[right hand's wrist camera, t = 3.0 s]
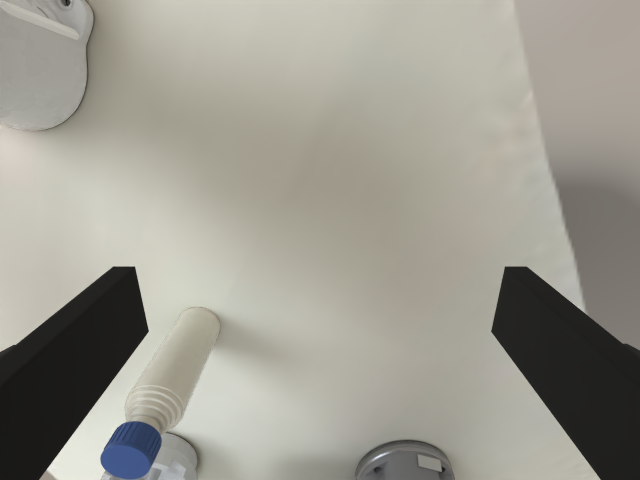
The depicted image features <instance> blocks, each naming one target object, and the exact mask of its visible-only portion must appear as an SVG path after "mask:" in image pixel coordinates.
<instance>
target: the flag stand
mask: <svg viewBox="0 0 640 480" xmlns="http://www.w3.org/2000/svg"><path fill="white" fill-rule="evenodd" d="M161 438H162V443H161V448H160V450H159V452H158V454H157V456H156V459H155V461H154V463H153V465H152V467H151V468H150V470H149V472H148V473H147V474H146V475H145V476H143V477H141V478H138V479H122V478H118V477H116V476H113V475H112V474H110V473H109V472H107V471H105V472H104V474H103V476H102V478H101V480H198V477H197V472H196V470H195V469H196V466H197V460H198V459H197V454H196V452H195V450H194V449H193V447H192V446H191V445H190V444H189V443H188V442H186V441H185V440H183V439H182V438H180V437H178V436H176V435H173V434H169V433H164V434H162V435H161Z"/></svg>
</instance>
